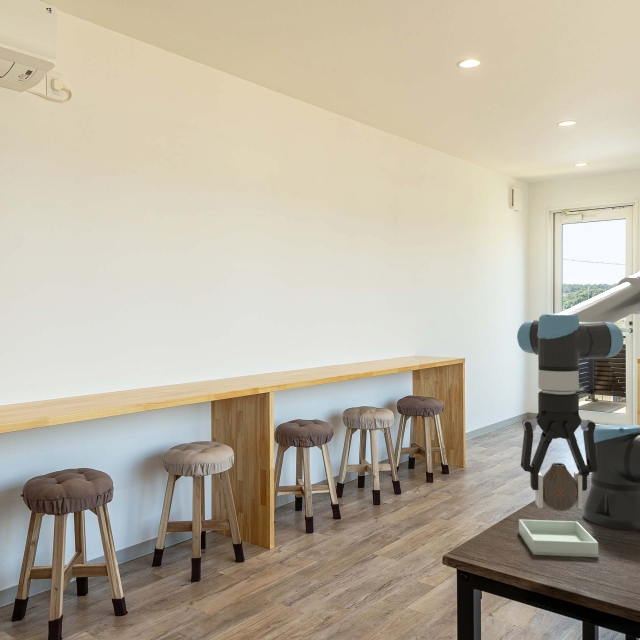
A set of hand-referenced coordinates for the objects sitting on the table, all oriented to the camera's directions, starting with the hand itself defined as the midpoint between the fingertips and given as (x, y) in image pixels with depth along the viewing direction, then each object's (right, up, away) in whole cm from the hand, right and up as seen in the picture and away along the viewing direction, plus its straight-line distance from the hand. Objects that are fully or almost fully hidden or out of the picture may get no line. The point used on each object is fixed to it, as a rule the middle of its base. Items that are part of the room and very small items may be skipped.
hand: (558, 505), depth 123 cm
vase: (0, -1, 0) cm, 1 cm away
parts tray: (+4, -12, +12) cm, 17 cm away
